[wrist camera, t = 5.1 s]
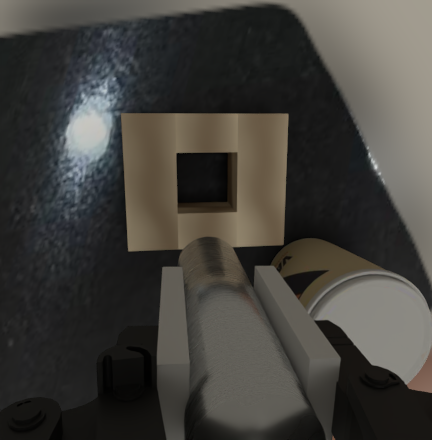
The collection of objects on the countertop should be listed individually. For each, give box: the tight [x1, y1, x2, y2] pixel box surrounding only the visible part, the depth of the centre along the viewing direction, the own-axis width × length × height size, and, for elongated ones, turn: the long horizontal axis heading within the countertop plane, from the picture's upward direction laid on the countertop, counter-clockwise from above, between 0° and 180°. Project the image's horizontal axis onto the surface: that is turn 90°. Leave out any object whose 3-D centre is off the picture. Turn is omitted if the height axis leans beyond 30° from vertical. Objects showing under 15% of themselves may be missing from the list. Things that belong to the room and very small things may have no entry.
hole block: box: [121, 113, 288, 251], centre depth 32 cm, size 12×10×4 cm
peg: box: [178, 237, 326, 440], centre depth 14 cm, size 3×3×12 cm
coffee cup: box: [270, 238, 432, 384], centre depth 32 cm, size 9×9×12 cm
